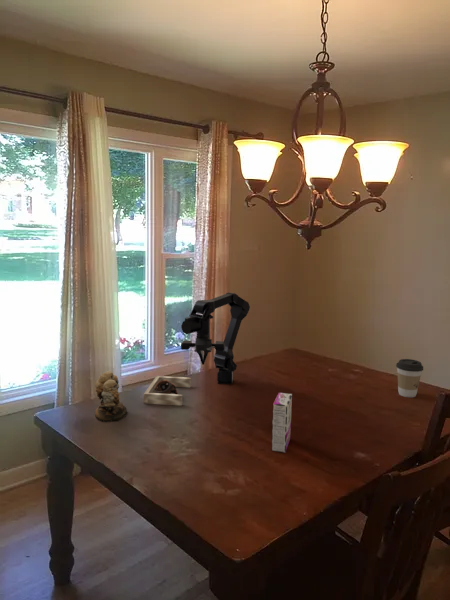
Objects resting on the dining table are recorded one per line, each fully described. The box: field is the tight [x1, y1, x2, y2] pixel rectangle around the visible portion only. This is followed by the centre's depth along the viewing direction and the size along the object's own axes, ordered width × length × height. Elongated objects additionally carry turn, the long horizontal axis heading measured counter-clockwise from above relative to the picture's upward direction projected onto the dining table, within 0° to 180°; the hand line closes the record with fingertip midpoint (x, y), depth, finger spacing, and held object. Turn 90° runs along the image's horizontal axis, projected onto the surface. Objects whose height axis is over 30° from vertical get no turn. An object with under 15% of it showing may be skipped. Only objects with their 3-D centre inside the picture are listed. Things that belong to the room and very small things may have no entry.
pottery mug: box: [155, 379, 179, 394], centre depth 206 cm, size 12×10×8 cm
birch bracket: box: [143, 375, 192, 406], centre depth 208 cm, size 16×23×4 cm
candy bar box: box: [271, 392, 293, 454], centre depth 163 cm, size 11×5×16 cm, turn 164°
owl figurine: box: [94, 371, 128, 423], centre depth 185 cm, size 18×12×17 cm, turn 15°
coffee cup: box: [395, 358, 424, 398], centre depth 214 cm, size 11×11×15 cm
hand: (203, 364), depth 213 cm, fingers closed
